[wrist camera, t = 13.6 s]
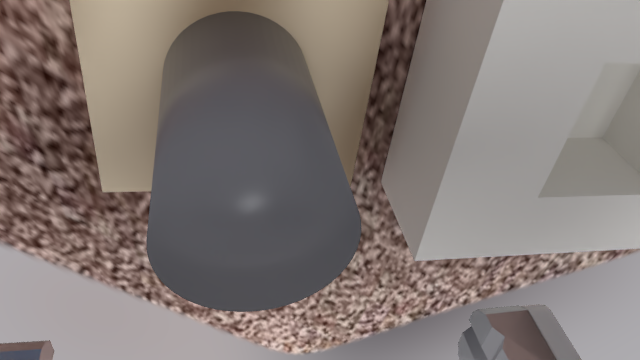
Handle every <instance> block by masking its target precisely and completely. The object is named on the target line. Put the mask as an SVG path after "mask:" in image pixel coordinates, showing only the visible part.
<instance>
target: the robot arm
mask: <svg viewBox="0 0 640 360" xmlns="http://www.w3.org/2000/svg"><path fill="white" fill-rule="evenodd" d="M469 321H470V323H471V325H472V326H471V327H470V328H468V329H467V330H466V331H464V332H463V333H462V336H461V338H460V340H459V342H458V355H459V360H581V358H580V356H579V355H578V353H577V352H576V350H575V348H574V347H573V345H572V344H571V342H570V340H569V339H568V337H567V336H566V334H565V332H564V331H563V329H562V328H561V326H560V324H559V323H558V321H557V320H556V318H555V317H554V315H553V313H552V312H551V310H550V309H549V308H548V307H546V306H545V305H528V306H510V307H499V308H498V307H497V308H486V309H478V310H476V311H474V312H473V313H472V315H471V317H470V319H469ZM53 354H54V349H53V347H52V344H51V342H50V340H49V341H33V342H19V343H18V342H17V343H3V344H2V343H1V344H0V360H52V359H53Z"/></svg>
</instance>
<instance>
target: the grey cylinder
mask: <svg viewBox="0 0 640 360" xmlns="http://www.w3.org/2000/svg"><path fill="white" fill-rule="evenodd" d="M360 235H361V219H360V215H359V211H358V208H357V205H356V202H355V199H354V197H353V194H352V191H351V188H350V185H349V182H348V180H347V177H346V174H345V171H344V168H343V165H342V163H341V160H340V157H339V154H338V151H337V148H336V146H335V143H334V140H333V137H332V134H331V131H330V129H329V126H328V123H327V120H326V117H325V114H324V112H323V109H322V106H321V103H320V100H319V97H318V95H317V92H316V89H315V86H314V83H313V80H312V78H311V75H310V72H309V69H308V66H307V63H306V61H305V58H304V55H303V53H302V50H301V48H300V47H299V45H298V43H297V42H296V40H295V39H294V38H293V37H292V35H291V34H290V33H289V32H288V31H287V30H285V29H284V28H283V27H282V26H280V25H279V24H278V23H276V22H274V21H272V20H270V19H269V18H266V17H263V16H261V15H258V14H254V13H250V12H242V11H228V12H220V13H216V14H212V15H209V16H206V17H204V18H201V19H199V20H197V21H196V22H194V23H192V24H191V25H189V26H188V27H187V28H186V29H184V30H183V31H182V32H181V33H180V34H179V35H178V36H177V38H176V39H175V40H174V42H173V43H172V45H171V46H170V48H169V50H168V52H167V55H166V58H165V61H164V67H163V75H162V85H161V96H160V106H159V117H158V127H157V137H156V148H155V158H154V169H153V179H152V189H151V200H150V210H149V220H148V231H147V253H148V258H149V261H150V264H151V266H152V268H153V270H154V272H155V273H156V275H157V276H158V278H159V279H160V280H161V281H162V282H163V283H164V284H165V285H166V286H167V287H168V288H169V289H170V290H172V291H173V292H174V293H176V294H178V295H179V296H181V297H182V298H184V299H186V300H189V301H191V302H193V303H196V304H198V305H201V306H204V307H208V308H213V309H217V310H225V311H237V312H246V311H260V310H267V309H273V308H278V307H281V306H285V305H288V304H291V303H294V302H297V301H300V300H302V299H304V298H306V297H308V296H310V295H312V294H314V293H316V292H318V291H319V290H321V289H322V288H324V287H325V286H327V285H328V284H329V283H331V282H332V281H333V280H334V279H335V278H336V277H338V276H339V275H340V274H341V272H342V271H343V270H344V269H345V268H346V267H347V265H348V264H349V262H350V261H351V260H352V258H353V256H354V254H355V252H356V250H357V247H358V244H359V241H360Z"/></svg>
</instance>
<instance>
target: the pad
mask: <svg viewBox="0 0 640 360" xmlns="http://www.w3.org/2000/svg"><path fill="white" fill-rule="evenodd" d="M69 1H70V7H71V13H72V18H73V24H74V30H75V36H76V41H77V47H78V53H79V59H80V65H81V70H82V76H83V82H84V88H85V94H86V99H87V105H88V111H89V117H90V123H91V128H92V134H93V140H94V146H95V152H96V157H97V163H98V169H99V175H100V181H101V186H102V192H140V191H151V189H152V179H153V169H154V158H155V148H156V137H157V127H158V117H159V106H160V96H161V85H162V75H163V67H164V61H165V58H166V55H167V52H168V50H169V48H170V46H171V45H172V43H173V42H174V40H175V39H176V38H177V36H178V35H179V34H180V33H181V32H182V31H183V30H184V29H186V28H187V27H188V26H189V25H191V24H192V23H194V22H196V21H197V20H199V19H201V18H204V17H206V16H209V15H212V14H216V13H220V12H228V11H242V12H250V13H254V14H258V15H261V16H263V17H266V18H269V19H270V20H272V21H274V22H276V23H278V24H279V25H280V26H282V27H283V28H284V29H285V30H287V31H288V32H289V33H290V34H291V35H292V37H293V38H294V39H295V40H296V42H297V43H298V45H299V47H300V48H301V50H302V53H303V55H304V58H305V61H306V63H307V66H308V69H309V72H310V75H311V78H312V80H313V83H314V86H315V89H316V92H317V95H318V97H319V100H320V103H321V106H322V109H323V112H324V114H325V117H326V120H327V123H328V126H329V129H330V131H331V134H332V137H333V140H334V143H335V146H336V148H337V151H338V154H339V157H340V160H341V163H342V165H343V168H344V171H345V174H346V177H347V180H348V182H349V185H350V187H351V182H352V177H353V172H354V168H355V163H356V158H357V153H358V148H359V143H360V138H361V134H362V129H363V124H364V119H365V114H366V109H367V105H368V100H369V95H370V90H371V85H372V80H373V75H374V71H375V66H376V61H377V56H378V51H379V46H380V42H381V37H382V32H383V27H384V22H385V17H386V12H387V8H388V3H389V0H69Z"/></svg>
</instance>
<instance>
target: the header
mask: <svg viewBox="0 0 640 360" xmlns="http://www.w3.org/2000/svg"><path fill="white" fill-rule="evenodd" d="M381 184H382V186H383V188H384V191H385V193H386V195H387V198H388V200H389V202H390V205H391V207H392V209H393V212H394V214H395V216H396V219H397V221H398V224H399V226H400V228H401V231H402V233H403V235H404V238H405V240H406V242H407V245H408V247H409V249H410V252H411V254H412V256H413V259H414V261H423V260H442V259H460V258H478V257H496V256H514V255H532V254H550V253H568V252H586V251H604V250H622V249H640V0H426V4H425V8H424V12H423V16H422V20H421V24H420V28H419V32H418V36H417V40H416V44H415V48H414V52H413V56H412V60H411V64H410V68H409V72H408V76H407V80H406V84H405V88H404V92H403V96H402V100H401V104H400V108H399V112H398V116H397V120H396V124H395V128H394V132H393V136H392V140H391V144H390V148H389V152H388V156H387V159H386V163H385V167H384V171H383V175H382V179H381Z"/></svg>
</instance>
